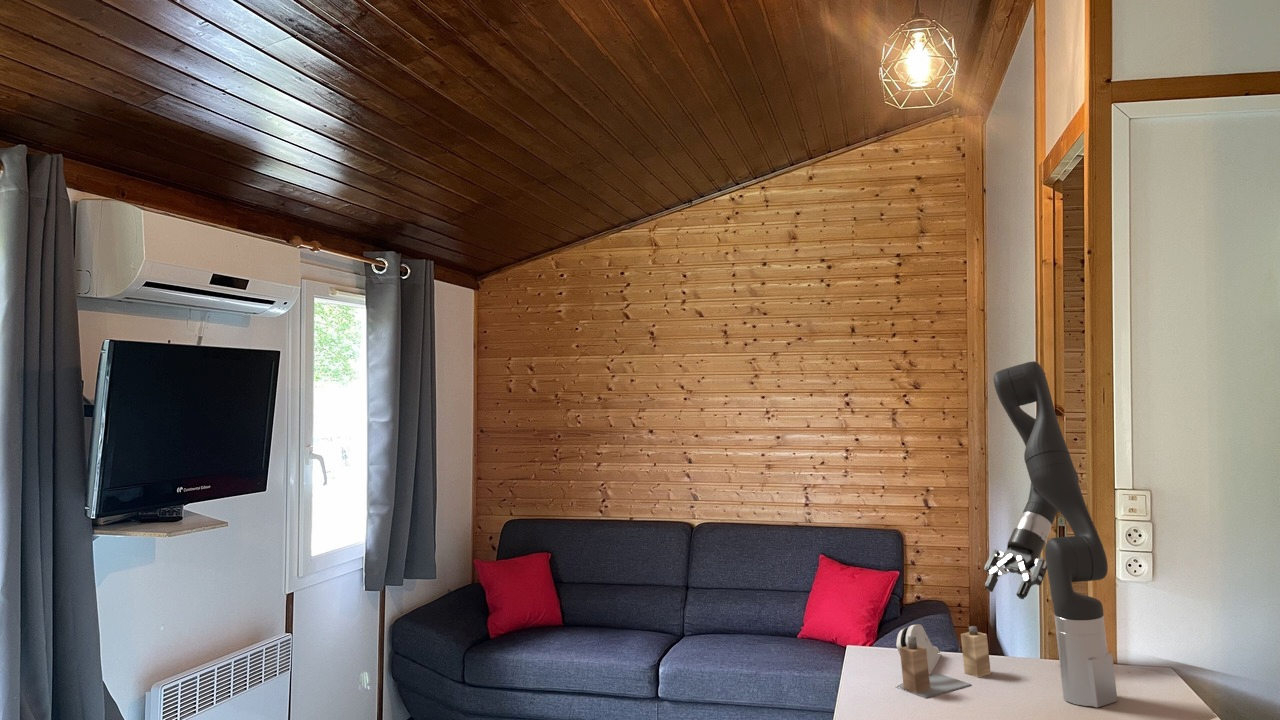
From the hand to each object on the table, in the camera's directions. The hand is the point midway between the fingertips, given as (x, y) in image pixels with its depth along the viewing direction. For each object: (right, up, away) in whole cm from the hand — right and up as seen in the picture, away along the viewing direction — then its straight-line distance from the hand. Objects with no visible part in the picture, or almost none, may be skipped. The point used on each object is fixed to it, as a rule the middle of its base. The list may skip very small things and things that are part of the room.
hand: (1003, 593), depth 214 cm
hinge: (-18, -19, +5) cm, 27 cm away
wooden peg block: (-8, -17, -6) cm, 20 cm away
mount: (-21, -18, -12) cm, 30 cm away
